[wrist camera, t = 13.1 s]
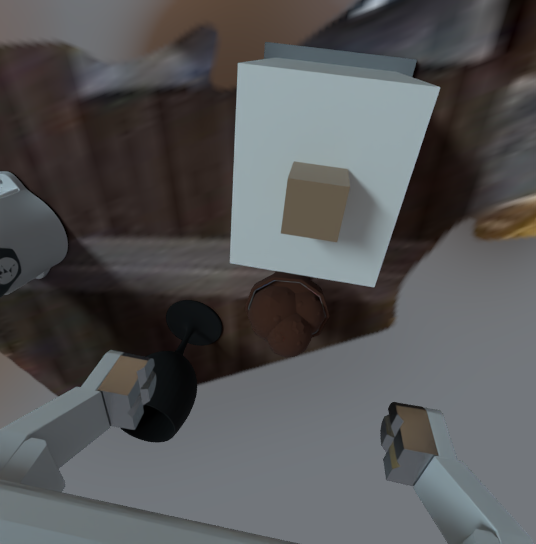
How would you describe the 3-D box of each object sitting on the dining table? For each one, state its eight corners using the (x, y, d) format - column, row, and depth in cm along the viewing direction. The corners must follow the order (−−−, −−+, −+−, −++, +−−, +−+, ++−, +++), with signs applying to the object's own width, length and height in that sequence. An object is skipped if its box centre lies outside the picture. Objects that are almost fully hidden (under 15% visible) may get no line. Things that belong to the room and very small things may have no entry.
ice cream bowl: (340, 255, 50) (343, 324, 38) (312, 310, 56) (306, 385, 44) (271, 231, 50) (251, 291, 37) (250, 289, 56) (227, 357, 43)
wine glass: (161, 330, 64) (101, 428, 48) (174, 290, 59) (111, 385, 42) (212, 351, 65) (171, 455, 49) (230, 314, 60) (190, 417, 43)
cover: (263, 193, 46) (217, 288, 28) (275, 57, 38) (221, 65, 19) (360, 208, 45) (379, 316, 27) (396, 71, 37) (459, 94, 18)
